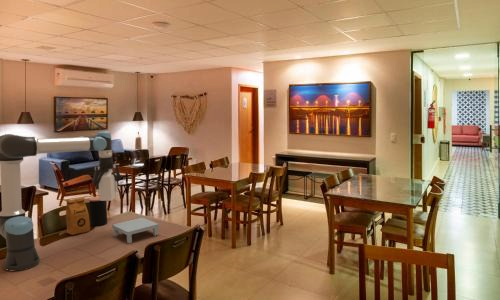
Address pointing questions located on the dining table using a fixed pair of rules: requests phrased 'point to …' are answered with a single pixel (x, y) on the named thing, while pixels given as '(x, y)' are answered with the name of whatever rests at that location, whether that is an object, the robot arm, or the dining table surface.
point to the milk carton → (107, 186)
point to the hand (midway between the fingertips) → (107, 192)
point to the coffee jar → (97, 211)
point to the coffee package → (77, 216)
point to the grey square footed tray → (135, 227)
